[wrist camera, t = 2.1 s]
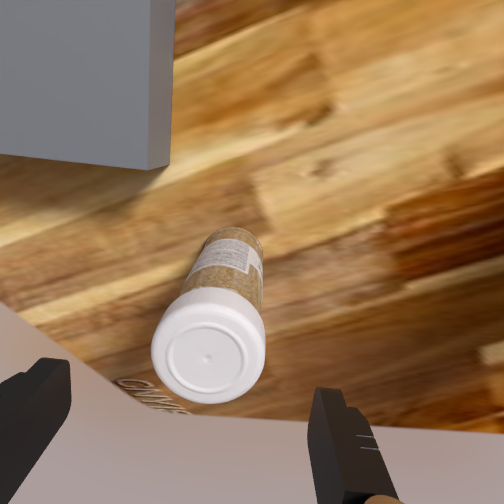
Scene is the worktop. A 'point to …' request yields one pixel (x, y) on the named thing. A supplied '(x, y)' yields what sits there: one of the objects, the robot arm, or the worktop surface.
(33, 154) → the grey block
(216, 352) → the spice jar
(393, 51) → the worktop surface
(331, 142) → the worktop surface
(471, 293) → the worktop surface
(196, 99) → the worktop surface
